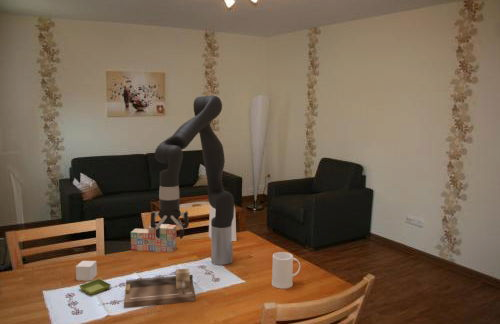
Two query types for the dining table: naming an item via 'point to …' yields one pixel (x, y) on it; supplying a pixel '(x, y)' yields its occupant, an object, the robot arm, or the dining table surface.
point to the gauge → (182, 279)
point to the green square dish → (95, 286)
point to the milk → (212, 215)
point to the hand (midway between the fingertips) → (170, 238)
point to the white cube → (86, 270)
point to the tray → (156, 292)
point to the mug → (283, 270)
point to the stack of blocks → (154, 239)
